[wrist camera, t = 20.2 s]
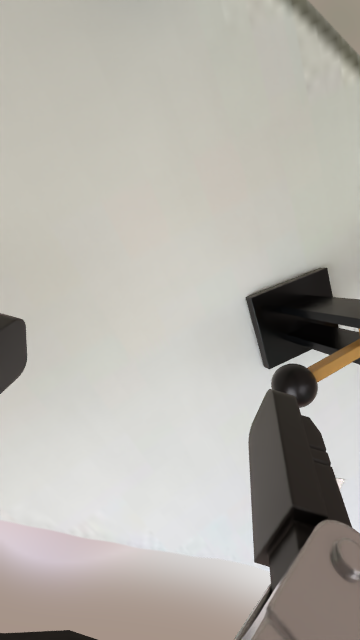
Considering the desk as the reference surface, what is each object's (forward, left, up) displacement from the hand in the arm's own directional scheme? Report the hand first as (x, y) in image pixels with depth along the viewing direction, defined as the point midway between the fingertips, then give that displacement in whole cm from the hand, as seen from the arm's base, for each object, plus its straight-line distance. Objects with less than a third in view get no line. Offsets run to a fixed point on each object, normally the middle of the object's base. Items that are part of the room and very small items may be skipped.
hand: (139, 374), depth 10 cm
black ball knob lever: (-5, +19, -13) cm, 24 cm away
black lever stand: (-9, +23, -24) cm, 35 cm away
